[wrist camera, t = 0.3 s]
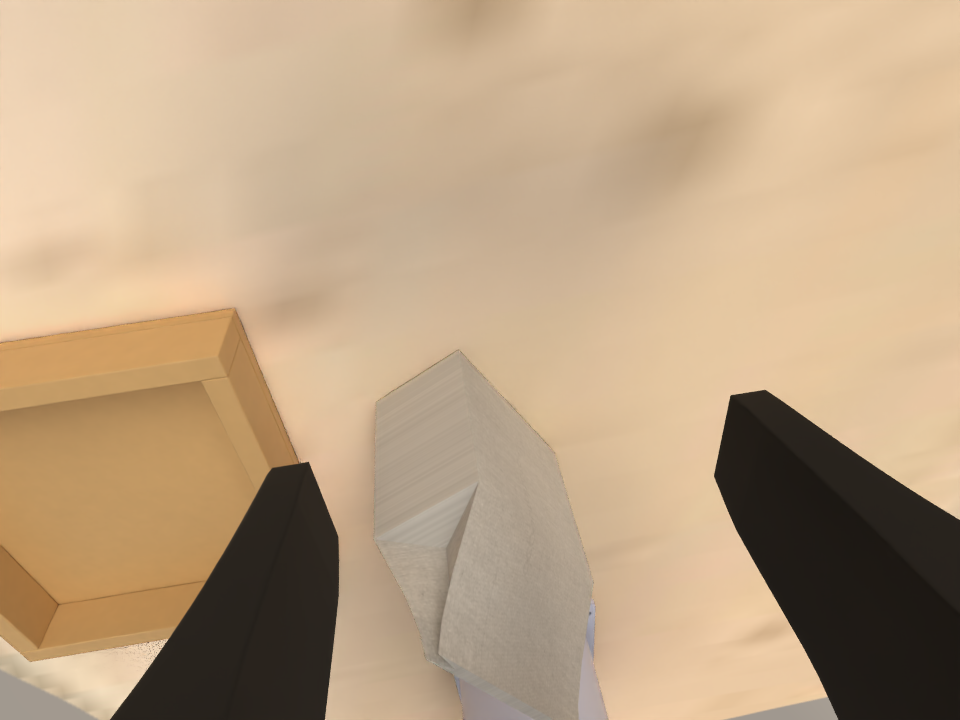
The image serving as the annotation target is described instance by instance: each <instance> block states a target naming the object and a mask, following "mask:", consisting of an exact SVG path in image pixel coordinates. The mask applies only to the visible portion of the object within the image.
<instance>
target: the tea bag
mask: <svg viewBox="0 0 960 720" xmlns="http://www.w3.org/2000/svg"><path fill="white" fill-rule="evenodd" d="M374 541H375V543H376V544H377V546H378V548H379V550H380V552H381V554H382V555H383V557H384V559H385V561H386V563H387V565H388V566H389V568H390V570H391V572H392V574H393V575H394V577H395V579H396V581H397V583H398V585H399V586H400V588H401V590H402V592H403V594H404V596H405V597H406V600H407V602H408V605H409V607H410V610H411V612H412V615H413V617H414V620H415V622H416V624H417V627H418V629H419V633H420V637H421V641H422V645H423V650H424V654H425V658H426V660H427V661H429V662H431V663H433V664H435V665H437V666H438V667H440V668H442V669H444V670H446V671H447V672H449V673H451V674H453V675H455V676H456V677H458V678H460V679H462V680H464V681H466V682H467V683H469V684H471V685H473V686H475V687H476V688H478V689H480V690H482V691H484V692H485V693H487V694H489V695H491V696H493V697H495V698H496V699H498V700H500V701H502V702H504V703H505V704H507V705H509V706H511V707H513V708H514V709H516V710H518V711H520V712H522V713H524V714H525V715H527V716H529V717H531V718H533V719H534V720H579V713H578V701H579V689H580V676H581V664H582V658H583V651H584V644H585V638H586V631H587V624H588V618H589V611H590V604H591V597H592V591H593V584H594V582H593V578H592V575H591V572H590V568H589V565H588V562H587V558H586V555H585V552H584V548H583V545H582V542H581V538H580V535H579V532H578V528H577V525H576V522H575V518H574V515H573V512H572V508H571V505H570V502H569V498H568V495H567V492H566V488H565V485H564V482H563V478H562V475H561V472H560V468H559V465H558V462H557V458H556V455H555V452H554V451H553V450H552V449H551V448H550V447H549V446H548V445H547V444H546V443H545V442H544V441H543V439H542V438H541V437H540V436H539V435H538V434H537V433H536V432H535V431H534V430H533V429H532V428H531V427H530V426H529V425H528V423H527V422H526V421H525V420H524V419H523V418H522V417H521V416H520V415H519V414H518V413H517V412H516V411H515V410H514V409H513V407H512V406H511V405H510V404H509V403H508V402H507V401H506V400H505V399H504V398H503V397H502V396H501V395H500V394H499V392H498V391H497V390H496V389H495V388H494V387H493V386H492V385H491V384H490V383H489V382H488V381H487V380H486V379H485V378H484V376H483V375H482V374H481V373H480V372H479V371H478V370H477V369H476V368H475V367H474V366H473V365H472V364H471V363H470V361H469V360H468V359H467V358H466V357H465V356H464V355H463V354H462V353H461V352H460V351H459V350H457V351H456V352H454V353H453V354H451V355H450V356H448V357H446V358H445V359H443V360H442V361H440V362H438V363H437V364H435V365H434V366H432V367H431V368H429V369H427V370H426V371H424V372H423V373H421V374H420V375H418V376H416V377H415V378H413V379H412V380H410V381H408V382H407V383H405V384H404V385H402V386H401V387H399V388H397V389H396V390H394V391H393V392H391V393H390V394H388V395H386V396H385V397H383V398H382V399H380V400H378V401H377V402H376V430H375V488H374Z"/></svg>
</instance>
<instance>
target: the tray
mask: <svg viewBox="0 0 960 720" xmlns="http://www.w3.org/2000/svg"><path fill="white" fill-rule="evenodd" d="M293 464H299V462H298V460H297V458H296V455H295V453H294V450H293V448H292V445H291V443H290V441H289V438H288V436H287V433H286V431H285V429H284V426H283V424H282V421H281V419H280V417H279V414H278V412H277V409H276V407H275V405H274V402H273V400H272V397H271V395H270V393H269V390H268V388H267V385H266V383H265V380H264V378H263V376H262V373H261V371H260V368H259V366H258V364H257V361H256V359H255V356H254V354H253V352H252V349H251V347H250V344H249V342H248V340H247V337H246V335H245V332H244V330H243V328H242V325H241V323H240V320H239V318H238V315H237V313H236V311H235V309H227V310H220V311H213V312H207V313H200V314H193V315H187V316H180V317H173V318H166V319H160V320H153V321H146V322H140V323H133V324H126V325H119V326H113V327H106V328H99V329H92V330H86V331H79V332H72V333H66V334H59V335H52V336H45V337H39V338H32V339H25V340H19V341H12V342H5V343H0V636H1V637H2V638H3V639H4V640H5V641H7V642H8V643H9V644H10V645H11V646H12V647H14V648H15V649H16V650H17V651H18V652H20V654H22V655H23V656H24V657H25V658H26V659H27V660H29V661H30V662H32V661H38V660H44V659H50V658H56V657H62V656H68V655H74V654H80V653H86V652H92V651H98V650H104V649H110V648H116V647H122V646H128V645H134V644H140V643H146V642H152V641H158V640H164V639H169V638H170V636H171V635H172V633H173V632H174V630H175V629H176V627H177V626H178V624H179V623H180V621H181V620H182V618H183V617H184V615H185V614H186V612H187V611H188V609H189V608H190V606H191V605H192V603H193V602H194V600H195V599H196V597H197V595H198V594H199V592H200V591H201V589H202V587H203V586H204V584H205V582H206V581H207V579H208V577H209V576H210V574H211V572H212V571H213V569H214V567H215V566H216V564H217V562H218V561H219V559H220V557H221V556H222V554H223V553H224V551H225V549H226V548H227V546H228V544H229V542H230V541H231V539H232V537H233V535H234V534H235V532H236V530H237V528H238V527H239V525H240V523H241V521H242V519H243V518H244V516H245V514H246V512H247V510H248V509H249V507H250V505H251V503H252V501H253V500H254V498H255V496H256V494H257V492H258V490H259V488H260V487H261V485H262V483H263V481H264V479H265V477H266V475H267V474H268V472H269V471H270V470H271V469H272V468H274V467H280V466H287V465H293Z"/></svg>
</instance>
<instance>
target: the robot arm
mask: <svg viewBox="0 0 960 720" xmlns="http://www.w3.org/2000/svg"><path fill="white" fill-rule="evenodd" d="M714 477H715V480H716V482H717V485H718V487H719V490H720V492H721V495H722V497H723V500H724V502H725V505H726V507H727V509H728V512H729V514H730V516H731V519H732V521H733V523H734V526H735V528H736V530H737V532H738V534H739V536H740V537H741V539H742V541H743V543H744V545H745V546H746V548H747V550H748V552H749V553H750V555H751V557H752V559H753V561H754V562H755V564H756V566H757V568H758V569H759V571H760V573H761V575H762V576H763V578H764V580H765V582H766V583H767V585H768V587H769V589H770V590H771V592H772V594H773V595H774V597H775V599H776V601H777V602H778V604H779V606H780V608H781V609H782V611H783V613H784V615H785V616H786V618H787V620H788V622H789V623H790V625H791V627H792V629H793V630H794V632H795V634H796V635H797V637H798V639H799V641H800V642H801V644H802V646H803V648H804V649H805V651H806V653H807V655H808V657H809V659H810V661H811V663H812V665H813V667H814V668H815V670H816V672H817V674H818V676H819V678H820V680H821V682H822V685H823V687H824V689H825V691H826V693H827V696H828V698H829V700H830V702H831V704H832V706H833V709H834V711H835V713H836V715H837V717H838V720H960V520H959V519H957V518H955V517H954V516H952V515H951V514H949V513H947V512H946V511H944V510H942V509H941V508H939V507H937V506H936V505H934V504H933V503H931V502H929V501H928V500H926V499H924V498H923V497H921V496H920V495H918V494H917V493H915V492H913V491H912V490H910V489H909V488H907V487H906V486H904V485H903V484H901V483H899V482H898V481H896V480H895V479H893V478H892V477H890V476H889V475H887V474H886V473H884V472H883V471H881V470H880V469H878V468H877V467H875V466H874V465H872V464H871V463H869V462H868V461H867V460H865V459H864V458H862V457H861V456H859V455H858V454H856V453H855V452H853V451H852V450H851V449H849V448H848V447H846V446H845V445H843V444H842V443H840V442H839V441H838V440H836V439H835V438H833V437H832V436H831V435H829V434H828V433H826V432H825V431H823V430H822V429H821V428H819V427H818V426H816V425H815V424H814V423H812V422H811V421H809V420H808V419H807V418H805V417H804V416H802V415H801V414H800V413H798V412H797V411H795V410H794V409H792V408H791V407H790V406H788V405H787V404H785V403H784V402H782V401H781V400H780V399H778V398H777V397H775V396H774V395H772V394H771V393H769V392H768V391H766V390H762V391H756V392H749V393H743V394H737V395H731V396H730V401H729V406H728V411H727V415H726V420H725V425H724V430H723V435H722V440H721V445H720V449H719V454H718V459H717V464H716V469H715V474H714ZM338 597H339V544H338V535H337V532H336V530H335V527H334V525H333V522H332V520H331V517H330V515H329V512H328V509H327V507H326V504H325V502H324V499H323V497H322V494H321V492H320V489H319V487H318V484H317V482H316V479H315V477H314V474H313V472H312V469H311V466H310V464H309V462H306V463H299V464H293V465H287V466H280V467H274V468H272V469H271V470H270V471H269V472H268V474H267V475H266V477H265V479H264V481H263V483H262V485H261V487H260V488H259V490H258V492H257V494H256V496H255V498H254V500H253V501H252V503H251V505H250V507H249V509H248V510H247V512H246V514H245V516H244V518H243V519H242V521H241V523H240V525H239V527H238V528H237V530H236V532H235V534H234V535H233V537H232V539H231V541H230V542H229V544H228V546H227V548H226V549H225V551H224V553H223V554H222V556H221V557H220V559H219V561H218V562H217V564H216V566H215V567H214V569H213V571H212V572H211V574H210V576H209V577H208V579H207V581H206V582H205V584H204V586H203V587H202V589H201V591H200V592H199V594H198V595H197V597H196V599H195V600H194V602H193V603H192V605H191V606H190V608H189V609H188V611H187V612H186V614H185V615H184V617H183V618H182V620H181V621H180V623H179V624H178V626H177V627H176V629H175V630H174V632H173V633H172V635H171V636H170V638H169V639H168V641H167V642H166V644H165V645H164V647H163V648H162V650H161V651H160V653H159V654H158V655H157V657H156V658H155V660H154V661H153V663H152V664H151V665H150V667H149V668H148V670H147V671H146V672H145V674H144V675H143V677H142V678H141V679H140V681H139V682H138V683H137V685H136V686H135V687H134V689H133V690H132V692H131V693H130V694H129V695H128V697H127V698H126V699H125V701H124V702H123V703H122V705H121V706H120V707H119V709H118V710H117V711H116V713H115V714H114V715H113V716H112V718H111V719H110V720H325V713H326V705H327V696H328V687H329V678H330V670H331V661H332V652H333V644H334V634H335V625H336V616H337V607H338ZM594 633H595V603H594V600H593V599H592V598H591V604H590V611H589V618H588V624H587V631H586V638H585V644H584V651H583V658H582V664H581V676H580V689H579V701H578V713H579V720H609V719H608V716H607V712H606V708H605V705H604V701H603V697H602V693H601V690H600V686H599V682H598V678H597V675H596V671H595V667H594V664H593V661H594ZM454 678H455V682H456V686H457V690H458V693H459V697H460V701H461V704H462V712H463V720H534V719H533V718H531V717H529V716H527V715H525V714H524V713H522V712H520V711H518V710H516V709H514V708H513V707H511V706H509V705H507V704H505V703H504V702H502V701H500V700H498V699H496V698H495V697H493V696H491V695H489V694H487V693H485V692H484V691H482V690H480V689H478V688H476V687H475V686H473V685H471V684H469V683H467V682H466V681H464V680H462V679H460V678H458V677H456V676H455V675H454Z"/></svg>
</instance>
